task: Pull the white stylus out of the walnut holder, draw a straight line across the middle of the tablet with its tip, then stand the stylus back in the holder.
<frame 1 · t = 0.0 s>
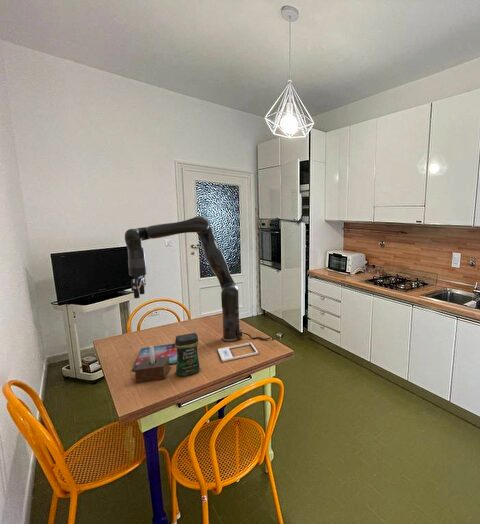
hand: (139, 296, 157), 29 cm above the table, tool pointing down, fingers open, 8 cm apart
stylus: (152, 360, 133), in the holder
holder: (153, 374, 134), on the table
tablet: (160, 356, 152), on the table
coffee jar: (188, 372, 137), on the table
photo frame: (237, 352, 158), on the table
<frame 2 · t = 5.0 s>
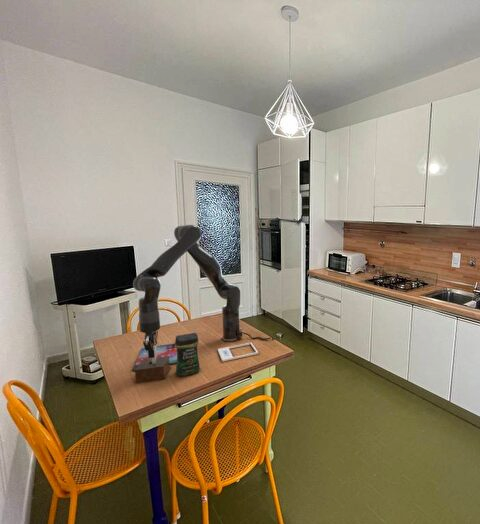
hand: (152, 356, 133), 9 cm above the table, tool pointing down, fingers closed on stylus, 1 cm apart
stylus: (154, 360, 133), in the holder, touching gripper
everything else where it was.
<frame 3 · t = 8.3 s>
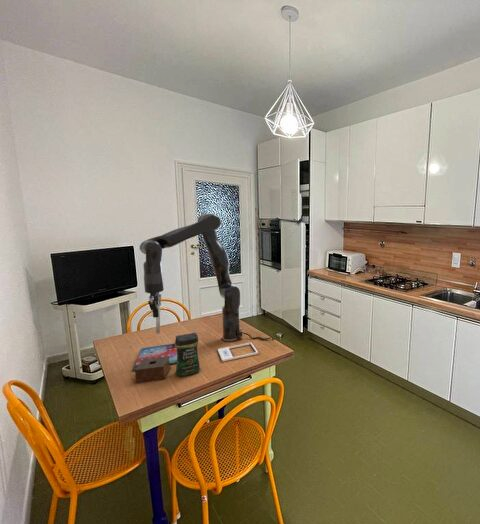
hand: (156, 316, 143), 24 cm above the table, tool pointing down, fingers closed on stylus, 1 cm apart
stylus: (158, 320, 143), point 22 cm above the table, touching gripper
everything else where it was.
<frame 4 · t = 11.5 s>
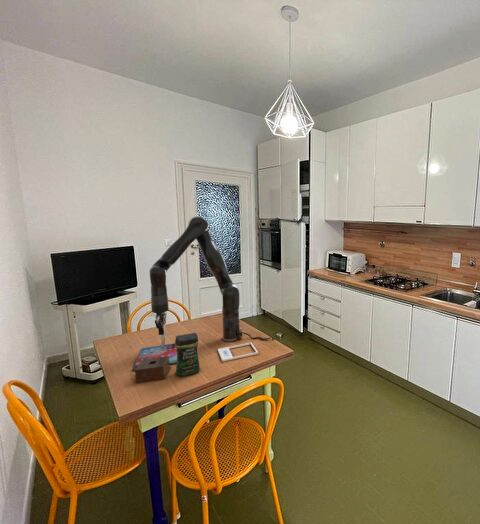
hand: (161, 333, 156), 10 cm above the table, tool pointing down, fingers closed on stylus, 1 cm apart
stylus: (163, 337, 156), point 8 cm above the table, touching gripper
everything else where it was.
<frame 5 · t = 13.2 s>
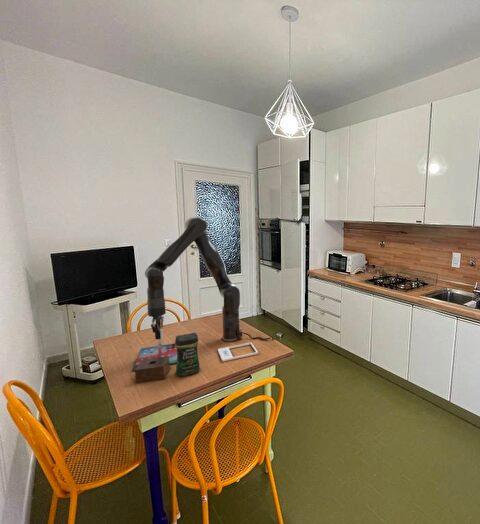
hand: (158, 338, 151), 10 cm above the table, tool pointing down, fingers closed on stylus, 1 cm apart
stylus: (160, 341, 151), point 8 cm above the table, touching gripper
everything else where it was.
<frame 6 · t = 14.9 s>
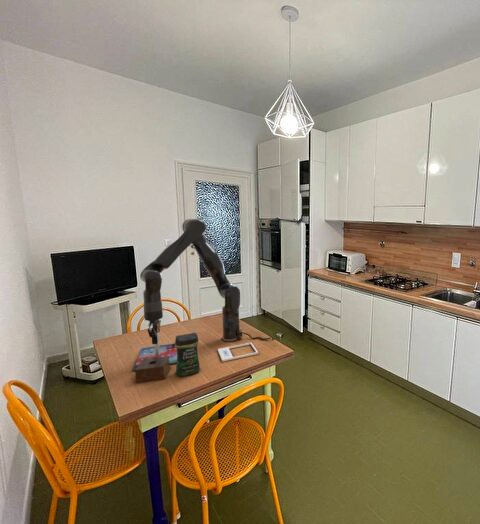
hand: (155, 342, 145), 10 cm above the table, tool pointing down, fingers closed on stylus, 1 cm apart
stylus: (157, 346, 145), point 8 cm above the table, touching gripper
everything else where it was.
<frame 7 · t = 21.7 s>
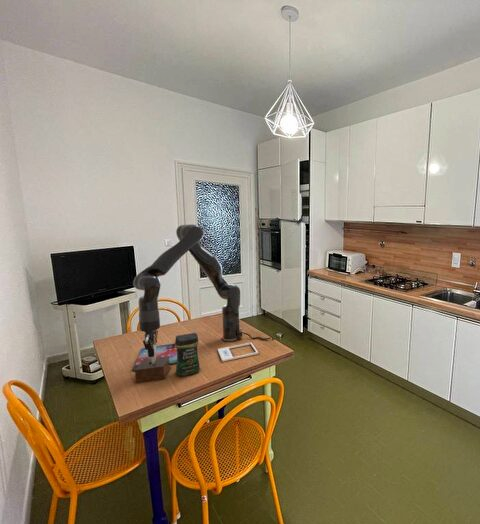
hand: (152, 355, 133), 10 cm above the table, tool pointing down, fingers closed on stylus, 1 cm apart
stylus: (153, 359, 133), in the holder, touching gripper
everything else where it was.
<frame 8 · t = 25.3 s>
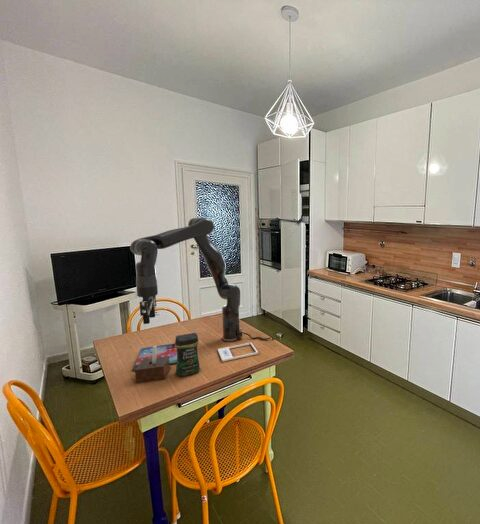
hand: (149, 320, 130), 26 cm above the table, tool pointing down, fingers open, 8 cm apart
stylus: (154, 360, 133), in the holder, tilted 6°
everything else where it was.
at the end: stylus 0.1 cm off-centre in the holder, point 7.0 cm above the holder's base; stylus tilted 6°; tablet moved 0.0 cm from its start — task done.
